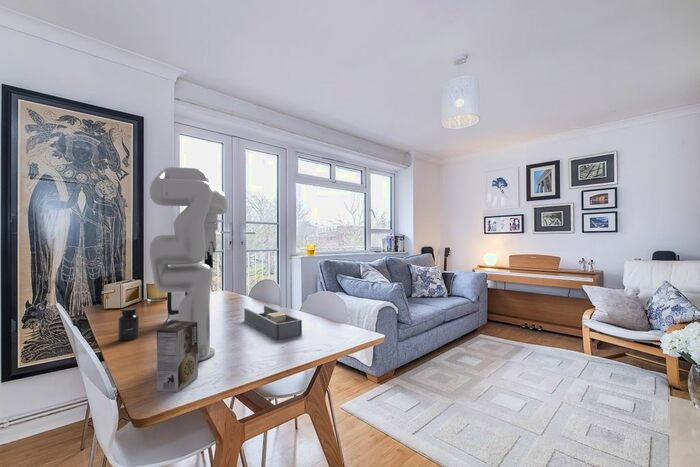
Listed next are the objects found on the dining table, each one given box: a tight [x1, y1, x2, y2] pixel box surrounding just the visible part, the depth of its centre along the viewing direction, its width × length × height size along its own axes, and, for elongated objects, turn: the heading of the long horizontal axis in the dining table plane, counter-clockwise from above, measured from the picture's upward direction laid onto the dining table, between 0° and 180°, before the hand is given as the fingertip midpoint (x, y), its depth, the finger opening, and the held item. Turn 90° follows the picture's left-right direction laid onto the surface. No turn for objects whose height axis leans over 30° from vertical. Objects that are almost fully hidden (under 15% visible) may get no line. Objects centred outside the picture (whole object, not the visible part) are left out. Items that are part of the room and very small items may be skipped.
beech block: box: [267, 311, 287, 324], centre depth 141 cm, size 6×6×4 cm
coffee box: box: [156, 321, 199, 393], centre depth 88 cm, size 9×6×16 cm
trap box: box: [243, 305, 303, 341], centre depth 144 cm, size 38×11×6 cm, turn 37°
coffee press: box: [164, 292, 188, 325], centre depth 156 cm, size 17×16×30 cm
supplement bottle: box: [117, 307, 140, 342], centre depth 129 cm, size 7×7×12 cm
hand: (208, 268), depth 142 cm, fingers closed
